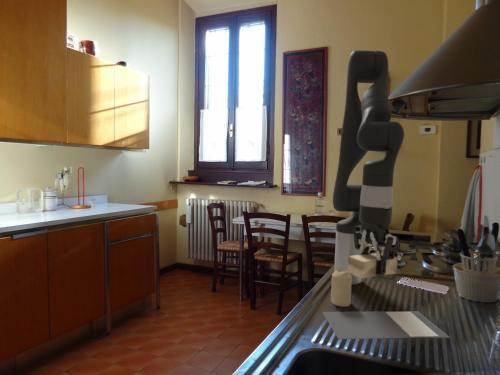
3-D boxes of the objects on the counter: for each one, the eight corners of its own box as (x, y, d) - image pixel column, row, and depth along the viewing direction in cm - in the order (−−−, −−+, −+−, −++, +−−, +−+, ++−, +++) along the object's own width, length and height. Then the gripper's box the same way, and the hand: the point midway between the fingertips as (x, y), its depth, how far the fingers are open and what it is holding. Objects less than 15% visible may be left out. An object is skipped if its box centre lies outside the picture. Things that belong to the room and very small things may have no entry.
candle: (327, 303, 101) (328, 270, 101) (337, 298, 105) (338, 266, 104) (344, 309, 98) (345, 275, 97) (353, 304, 101) (355, 270, 101)
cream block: (360, 278, 83) (361, 261, 83) (347, 271, 88) (348, 256, 87) (396, 273, 87) (397, 257, 87) (382, 267, 92) (383, 252, 91)
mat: (322, 313, 95) (322, 311, 95) (418, 312, 97) (418, 310, 97) (338, 340, 81) (338, 338, 81) (450, 339, 83) (450, 337, 83)
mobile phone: (446, 292, 110) (396, 281, 119) (446, 295, 111) (396, 284, 119) (449, 285, 117) (401, 275, 125) (449, 288, 117) (401, 278, 125)
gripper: (345, 200, 91) (342, 264, 93) (385, 209, 78) (380, 283, 79) (368, 199, 94) (365, 261, 95) (410, 207, 81) (406, 279, 82)
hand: (372, 270), depth 87 cm, fingers closed on cream block, 5 cm apart
